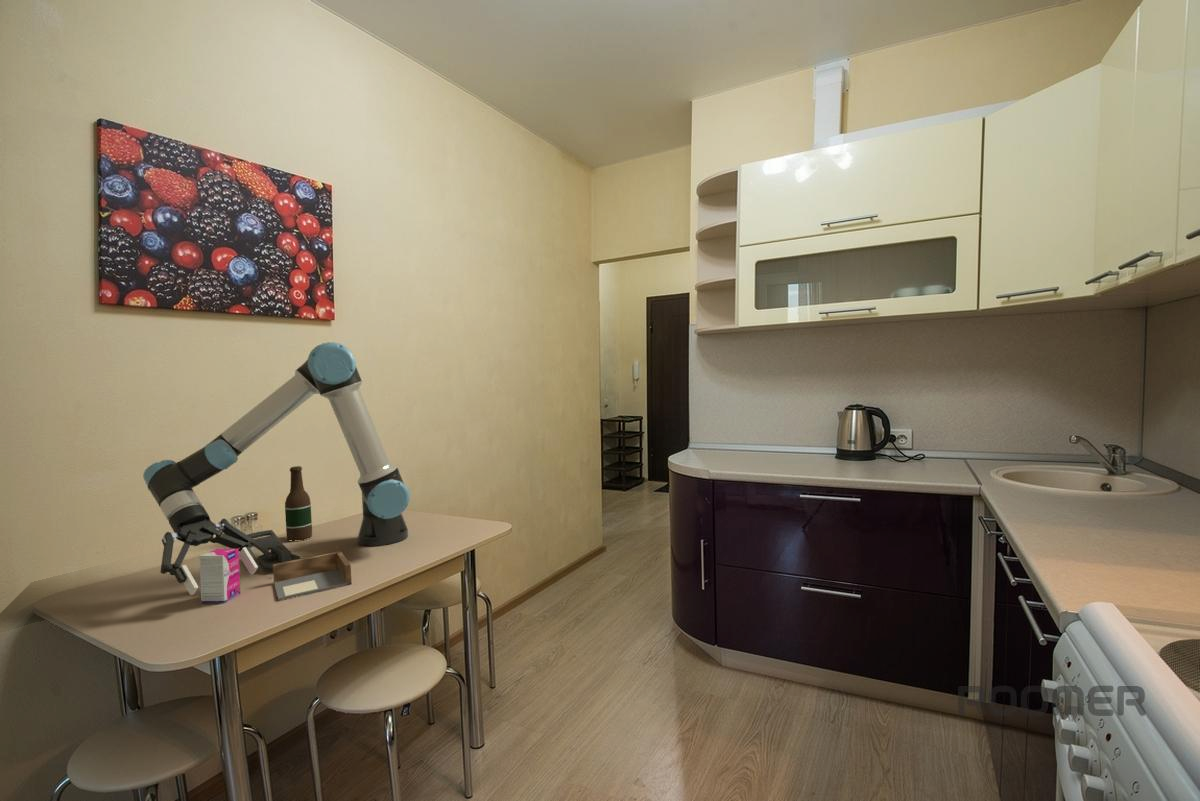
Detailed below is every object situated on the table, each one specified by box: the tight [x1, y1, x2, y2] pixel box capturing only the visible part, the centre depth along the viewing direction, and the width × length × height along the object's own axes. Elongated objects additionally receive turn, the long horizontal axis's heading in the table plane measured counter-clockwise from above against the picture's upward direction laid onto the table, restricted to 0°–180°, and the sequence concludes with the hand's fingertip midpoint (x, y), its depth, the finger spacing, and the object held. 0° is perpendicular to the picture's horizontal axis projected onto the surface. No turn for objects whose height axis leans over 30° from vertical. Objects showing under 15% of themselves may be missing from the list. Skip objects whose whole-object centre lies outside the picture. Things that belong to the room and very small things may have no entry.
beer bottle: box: [284, 465, 313, 542], centre depth 177 cm, size 8×8×24 cm
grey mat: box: [273, 569, 352, 601], centre depth 136 cm, size 16×14×1 cm
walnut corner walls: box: [273, 550, 352, 586], centre depth 136 cm, size 16×14×5 cm
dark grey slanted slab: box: [247, 529, 301, 574], centre depth 155 cm, size 9×7×25 cm
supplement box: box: [199, 548, 241, 605], centre depth 129 cm, size 6×6×12 cm
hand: (226, 580), depth 128 cm, fingers open, 13 cm apart
